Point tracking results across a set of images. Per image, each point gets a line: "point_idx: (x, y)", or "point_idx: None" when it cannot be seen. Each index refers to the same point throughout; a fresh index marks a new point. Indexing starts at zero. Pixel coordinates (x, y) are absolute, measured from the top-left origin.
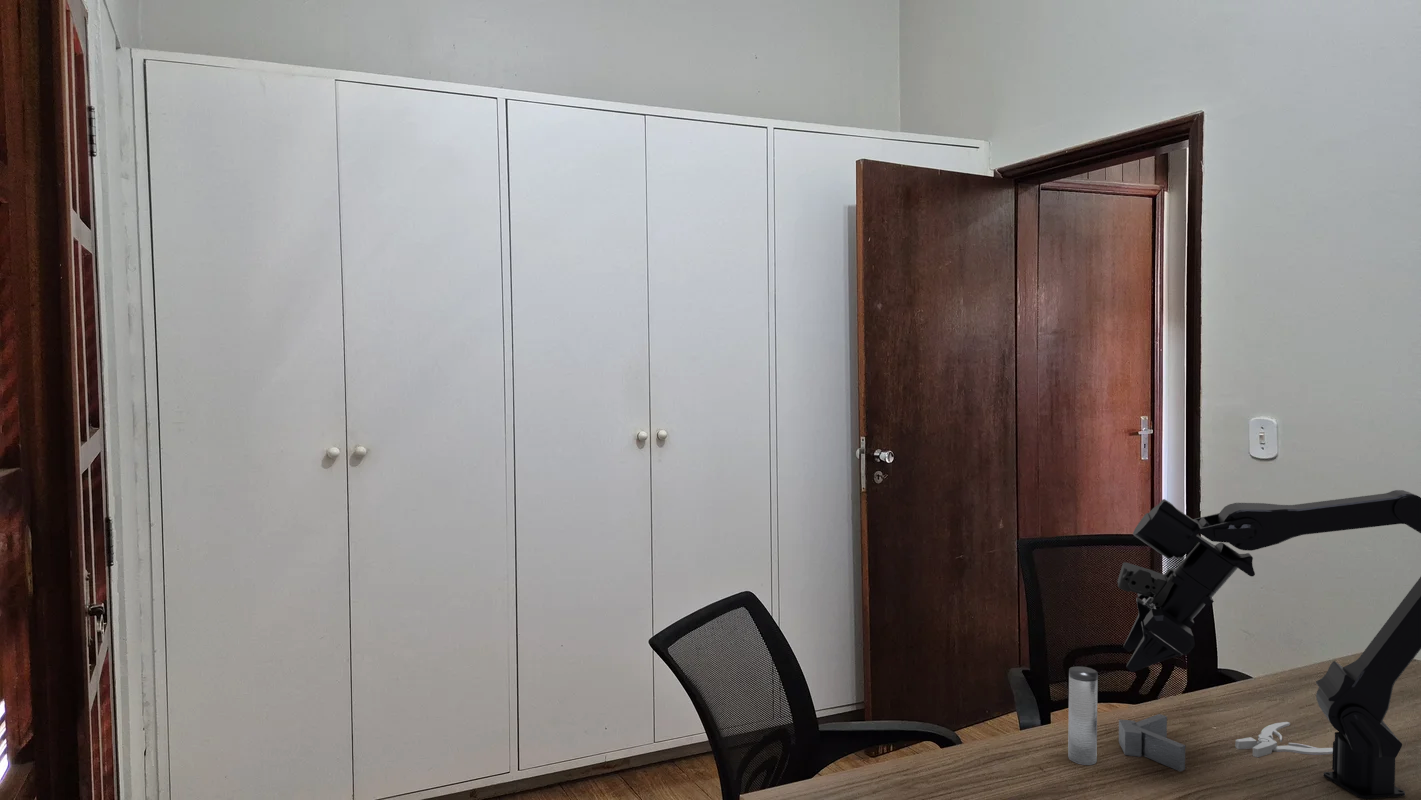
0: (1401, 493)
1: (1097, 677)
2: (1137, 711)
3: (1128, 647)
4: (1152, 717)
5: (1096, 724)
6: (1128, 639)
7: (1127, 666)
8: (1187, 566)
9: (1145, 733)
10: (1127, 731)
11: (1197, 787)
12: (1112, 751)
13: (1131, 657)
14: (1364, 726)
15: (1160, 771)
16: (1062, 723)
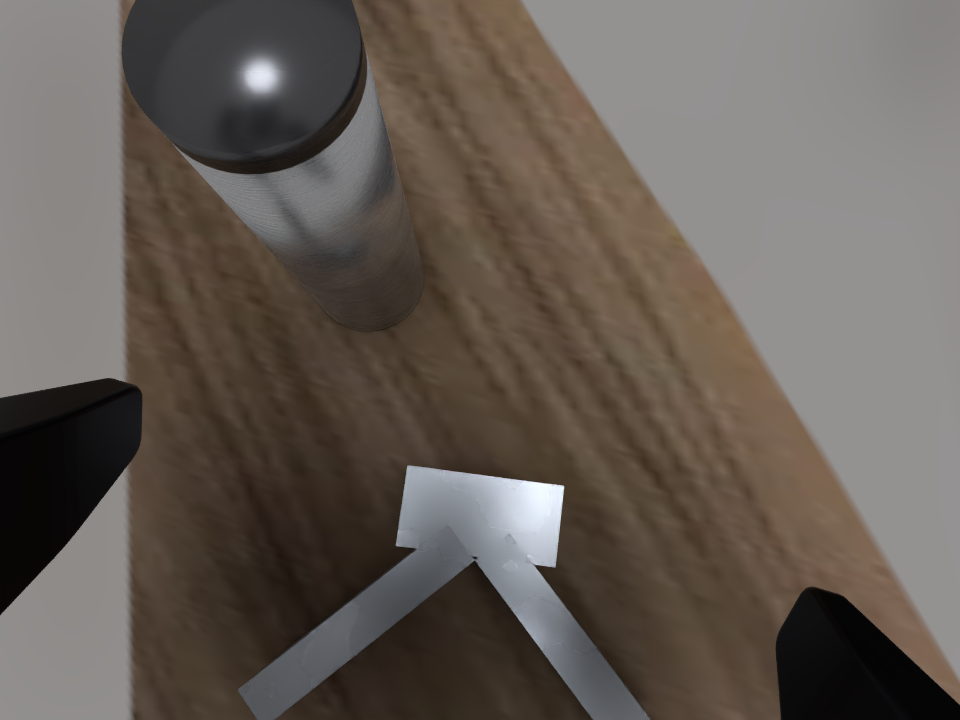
0: None
1: (198, 158)
2: None
3: (797, 638)
4: (615, 687)
5: (294, 273)
6: (856, 665)
7: (93, 382)
8: None
9: (396, 566)
10: (413, 478)
11: (138, 674)
12: (452, 426)
13: (24, 414)
14: None
15: (276, 569)
16: (721, 292)
